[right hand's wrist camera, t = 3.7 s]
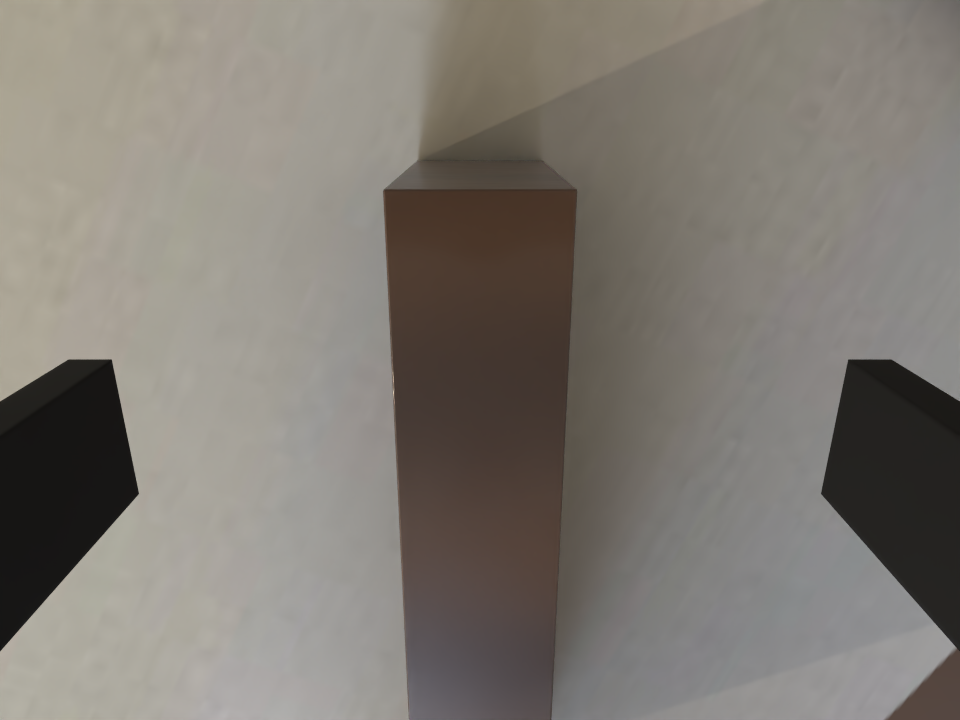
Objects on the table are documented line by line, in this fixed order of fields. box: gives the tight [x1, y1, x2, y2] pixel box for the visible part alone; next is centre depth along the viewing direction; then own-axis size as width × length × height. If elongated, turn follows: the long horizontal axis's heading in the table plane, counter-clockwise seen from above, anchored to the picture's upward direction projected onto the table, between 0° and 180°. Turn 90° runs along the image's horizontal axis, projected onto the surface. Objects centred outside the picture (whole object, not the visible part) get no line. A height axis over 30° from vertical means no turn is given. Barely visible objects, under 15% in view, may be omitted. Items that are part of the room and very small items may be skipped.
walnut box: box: [383, 161, 577, 720], centre depth 28 cm, size 32×5×10 cm, turn 0°
